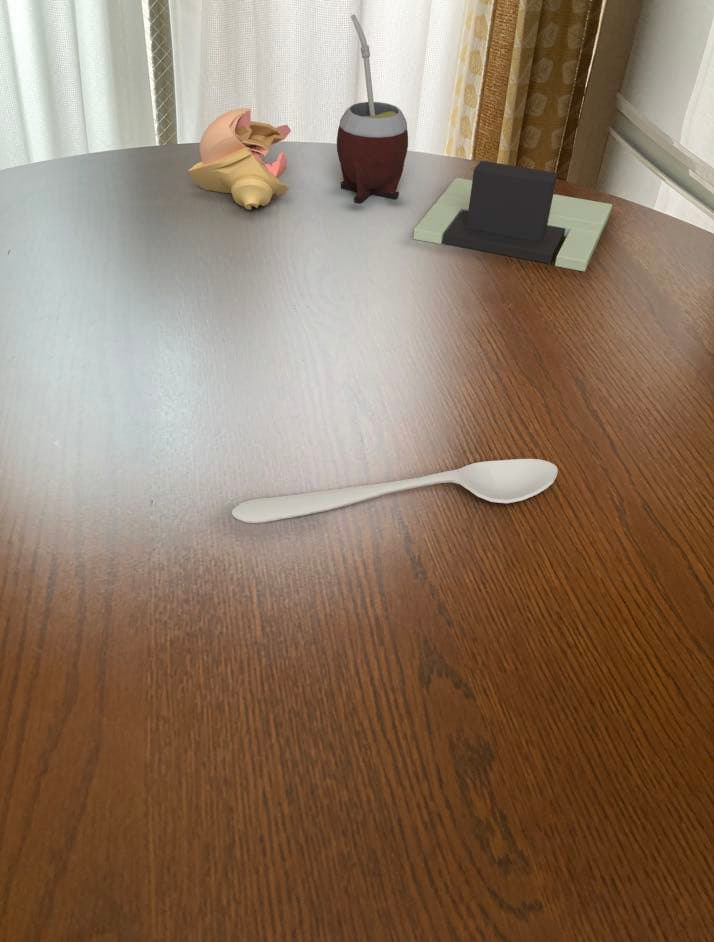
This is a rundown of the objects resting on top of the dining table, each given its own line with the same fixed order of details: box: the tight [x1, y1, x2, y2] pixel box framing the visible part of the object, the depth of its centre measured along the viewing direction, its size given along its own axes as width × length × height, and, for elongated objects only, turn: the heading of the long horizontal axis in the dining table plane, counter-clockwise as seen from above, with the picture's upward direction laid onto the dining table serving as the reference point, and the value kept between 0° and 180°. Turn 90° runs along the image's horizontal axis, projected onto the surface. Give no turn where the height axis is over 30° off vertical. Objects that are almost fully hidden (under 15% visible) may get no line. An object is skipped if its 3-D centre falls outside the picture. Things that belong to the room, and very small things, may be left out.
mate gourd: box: [336, 14, 409, 204], centre depth 89 cm, size 8×8×15 cm
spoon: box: [231, 458, 559, 524], centre depth 57 cm, size 4×21×2 cm, turn 99°
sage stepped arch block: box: [412, 177, 613, 272], centre depth 88 cm, size 16×14×1 cm
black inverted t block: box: [443, 160, 565, 265], centre depth 85 cm, size 10×8×6 cm
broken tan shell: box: [187, 107, 292, 211], centre depth 90 cm, size 9×10×10 cm
